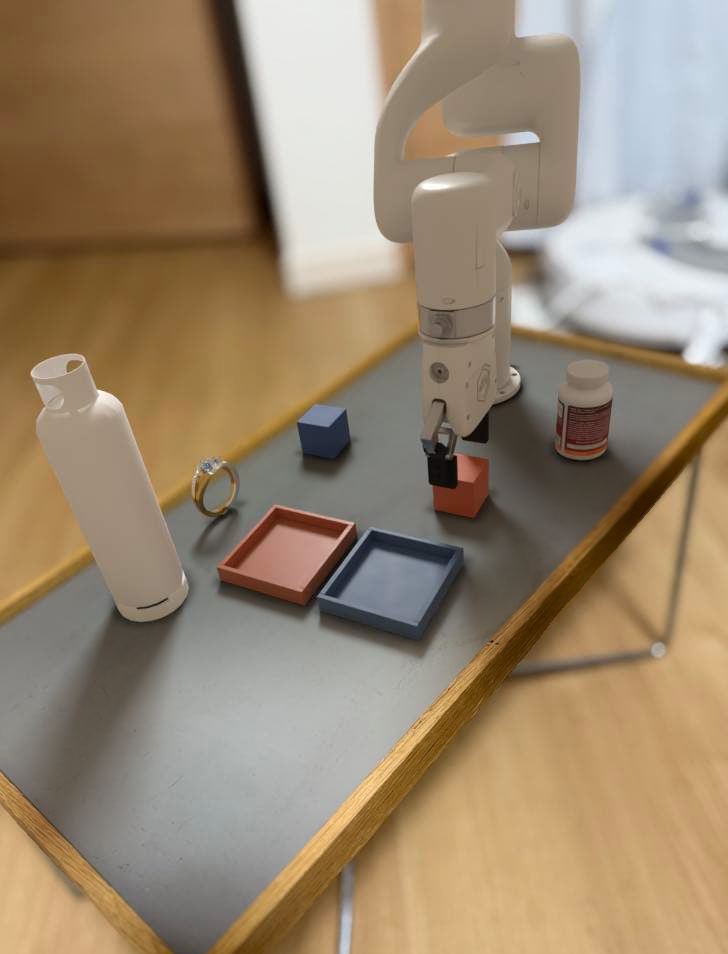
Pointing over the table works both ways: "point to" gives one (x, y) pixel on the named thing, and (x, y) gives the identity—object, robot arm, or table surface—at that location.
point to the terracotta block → (465, 488)
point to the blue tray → (392, 581)
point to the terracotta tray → (288, 553)
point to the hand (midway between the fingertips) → (459, 462)
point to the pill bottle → (584, 410)
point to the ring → (199, 491)
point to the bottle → (108, 489)
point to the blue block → (324, 431)
